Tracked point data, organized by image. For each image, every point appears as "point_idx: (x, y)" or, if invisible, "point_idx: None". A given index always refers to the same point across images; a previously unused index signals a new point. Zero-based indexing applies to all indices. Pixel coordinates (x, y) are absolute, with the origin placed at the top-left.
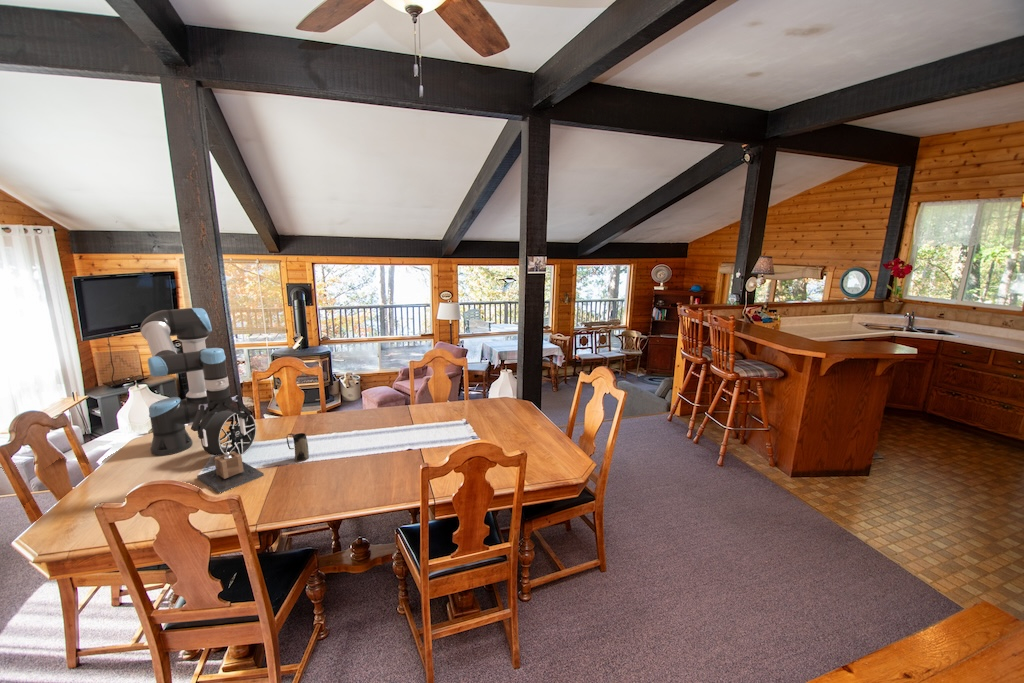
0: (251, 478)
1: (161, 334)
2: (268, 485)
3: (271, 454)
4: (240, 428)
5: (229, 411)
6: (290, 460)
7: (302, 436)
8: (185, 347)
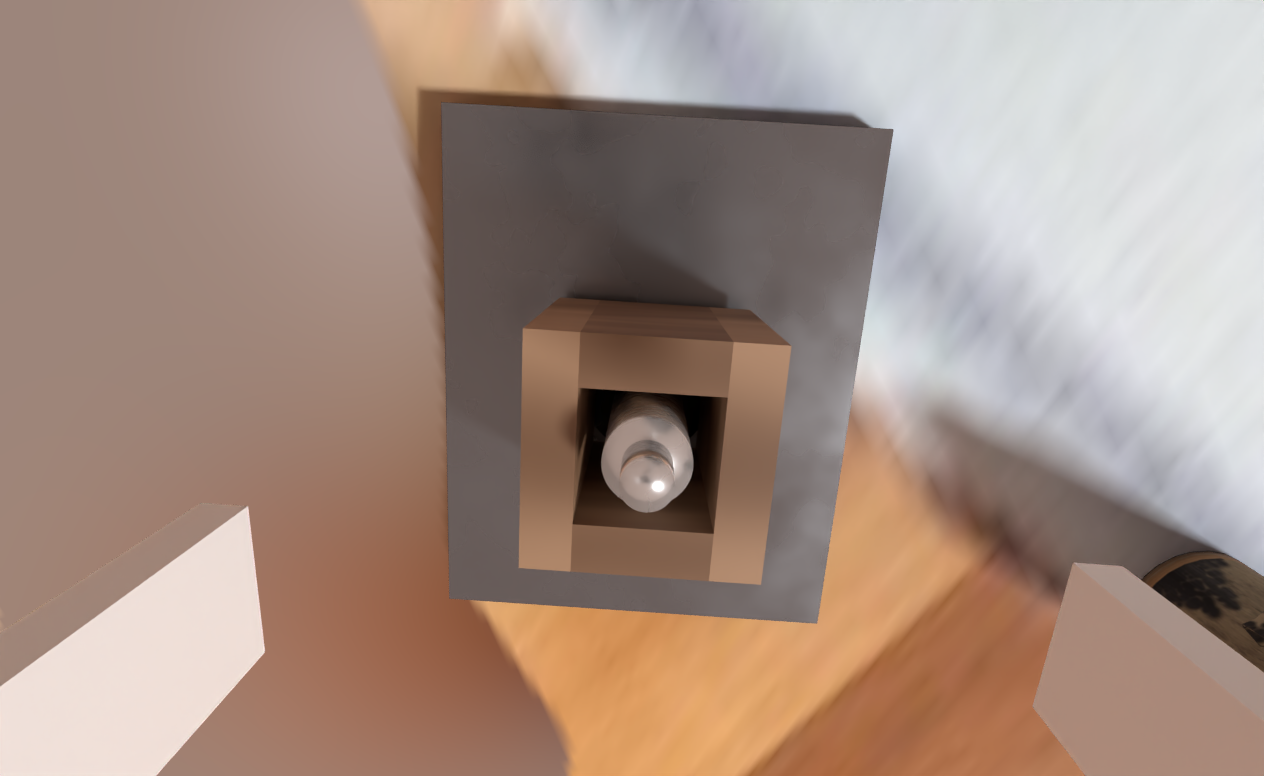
0: (710, 612)
1: None
2: (729, 767)
3: (1172, 235)
4: (1175, 653)
5: None
6: (1127, 543)
7: None
8: None
